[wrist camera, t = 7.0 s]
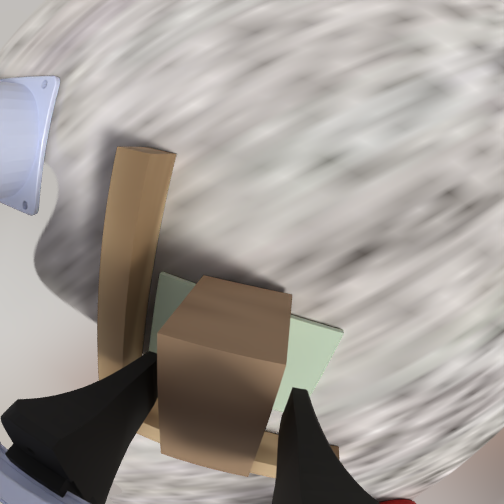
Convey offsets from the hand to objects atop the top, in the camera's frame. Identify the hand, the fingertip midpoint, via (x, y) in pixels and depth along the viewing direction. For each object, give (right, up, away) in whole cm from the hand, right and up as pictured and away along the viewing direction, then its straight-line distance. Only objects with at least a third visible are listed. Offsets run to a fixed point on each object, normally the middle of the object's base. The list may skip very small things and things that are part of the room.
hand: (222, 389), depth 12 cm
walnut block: (0, +1, +2) cm, 3 cm away
